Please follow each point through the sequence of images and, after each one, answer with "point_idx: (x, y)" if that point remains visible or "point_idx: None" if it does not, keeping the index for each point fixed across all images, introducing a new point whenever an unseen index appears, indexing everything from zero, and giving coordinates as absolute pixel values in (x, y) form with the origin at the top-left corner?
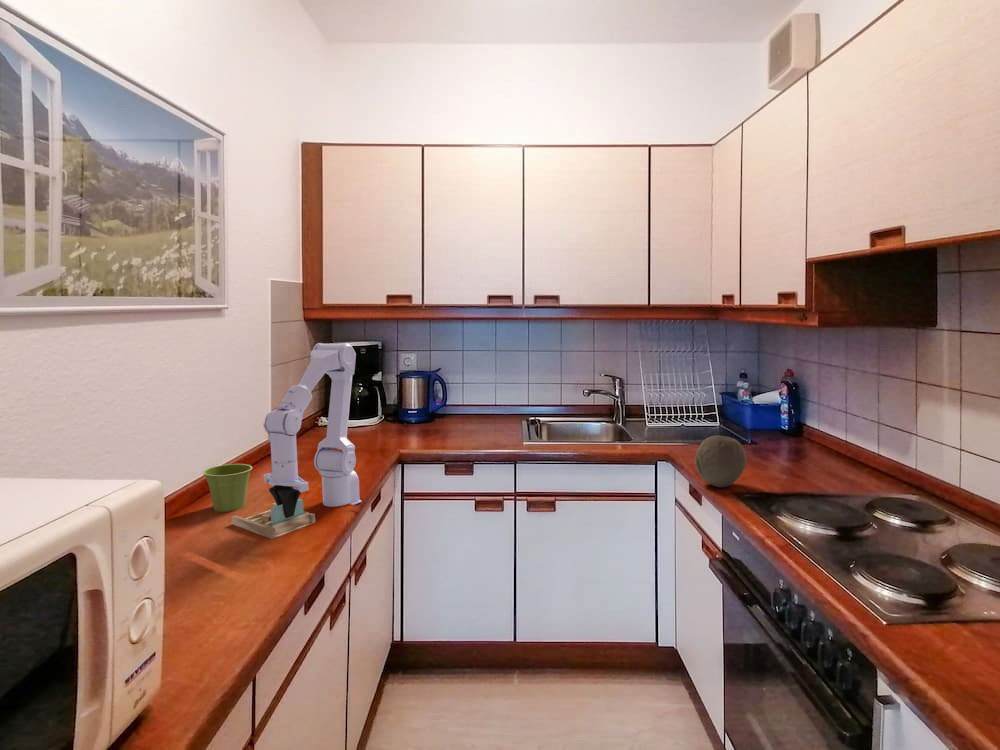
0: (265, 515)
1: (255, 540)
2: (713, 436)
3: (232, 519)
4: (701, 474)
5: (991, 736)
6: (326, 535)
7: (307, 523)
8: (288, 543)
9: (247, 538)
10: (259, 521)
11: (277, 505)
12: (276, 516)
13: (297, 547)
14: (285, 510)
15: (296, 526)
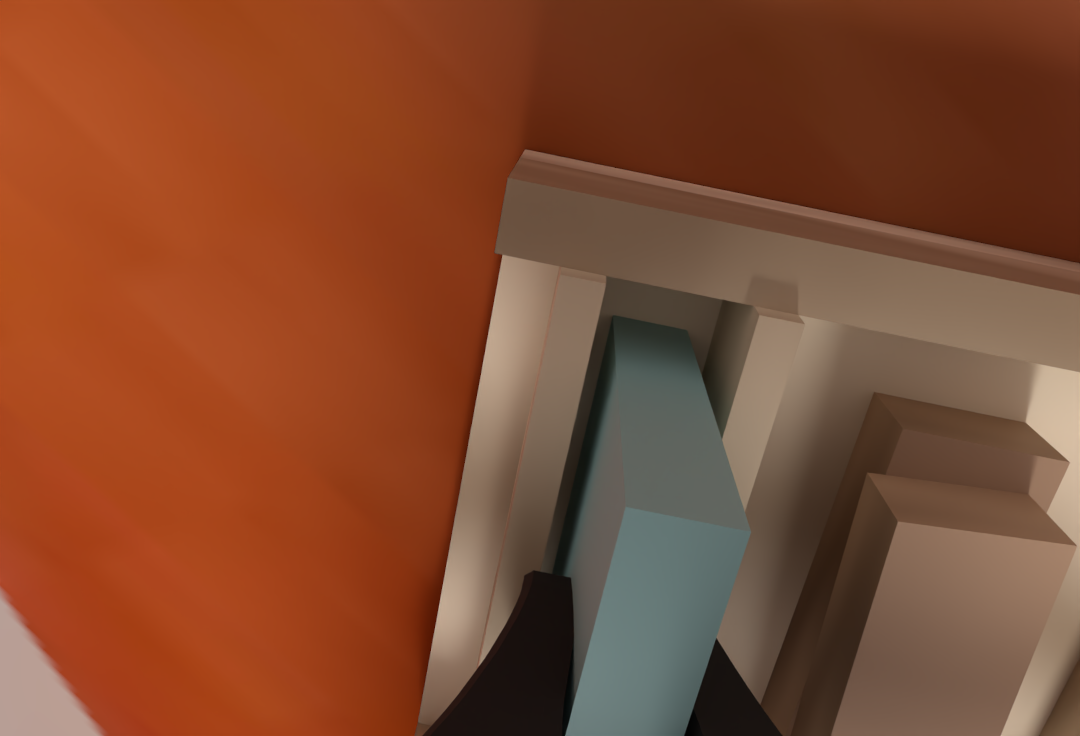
0: (1006, 563)
1: (823, 124)
2: None
3: None
4: None
5: None
6: (94, 565)
7: None
8: (304, 217)
9: (997, 137)
10: (1058, 466)
11: (756, 718)
12: (609, 464)
13: (90, 157)
14: (505, 636)
15: (494, 581)
